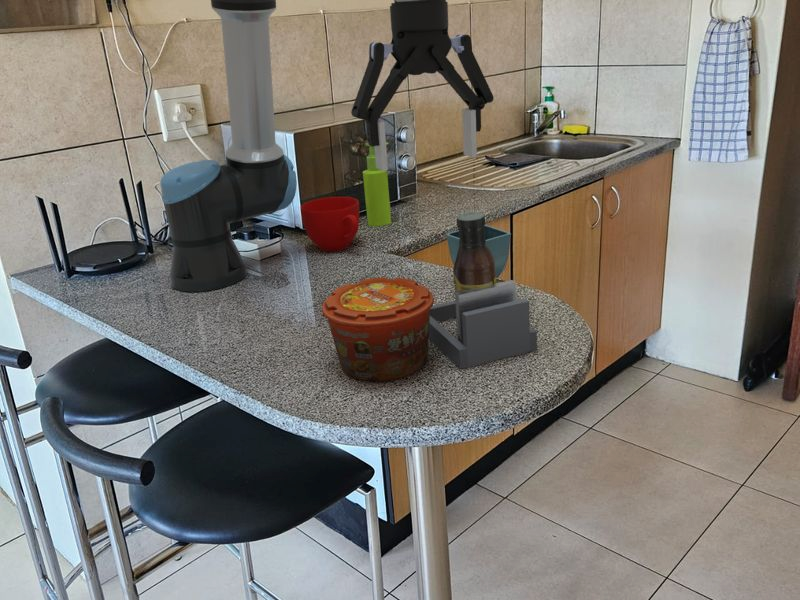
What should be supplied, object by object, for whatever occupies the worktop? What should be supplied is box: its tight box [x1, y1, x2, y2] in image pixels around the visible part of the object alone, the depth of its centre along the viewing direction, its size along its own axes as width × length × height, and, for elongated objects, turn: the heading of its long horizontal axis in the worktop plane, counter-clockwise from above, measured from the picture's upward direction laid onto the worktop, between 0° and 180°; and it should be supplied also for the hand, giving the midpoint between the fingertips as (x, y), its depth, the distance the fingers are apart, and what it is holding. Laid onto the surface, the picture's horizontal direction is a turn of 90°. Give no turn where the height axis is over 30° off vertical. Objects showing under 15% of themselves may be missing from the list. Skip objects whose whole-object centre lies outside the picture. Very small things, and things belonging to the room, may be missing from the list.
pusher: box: [454, 279, 518, 344], centre depth 101 cm, size 1×9×10 cm, turn 111°
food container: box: [321, 276, 435, 383], centre depth 100 cm, size 16×16×11 cm
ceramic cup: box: [300, 196, 360, 252], centre depth 153 cm, size 13×17×10 cm
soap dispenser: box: [362, 141, 392, 227], centre depth 168 cm, size 6×7×20 cm
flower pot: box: [445, 224, 512, 279], centre depth 129 cm, size 9×9×9 cm
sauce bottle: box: [452, 211, 498, 293], centre depth 102 cm, size 7×6×20 cm
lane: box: [428, 298, 538, 370], centre depth 106 cm, size 18×12×8 cm
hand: (427, 162), depth 98 cm, fingers open, 13 cm apart
